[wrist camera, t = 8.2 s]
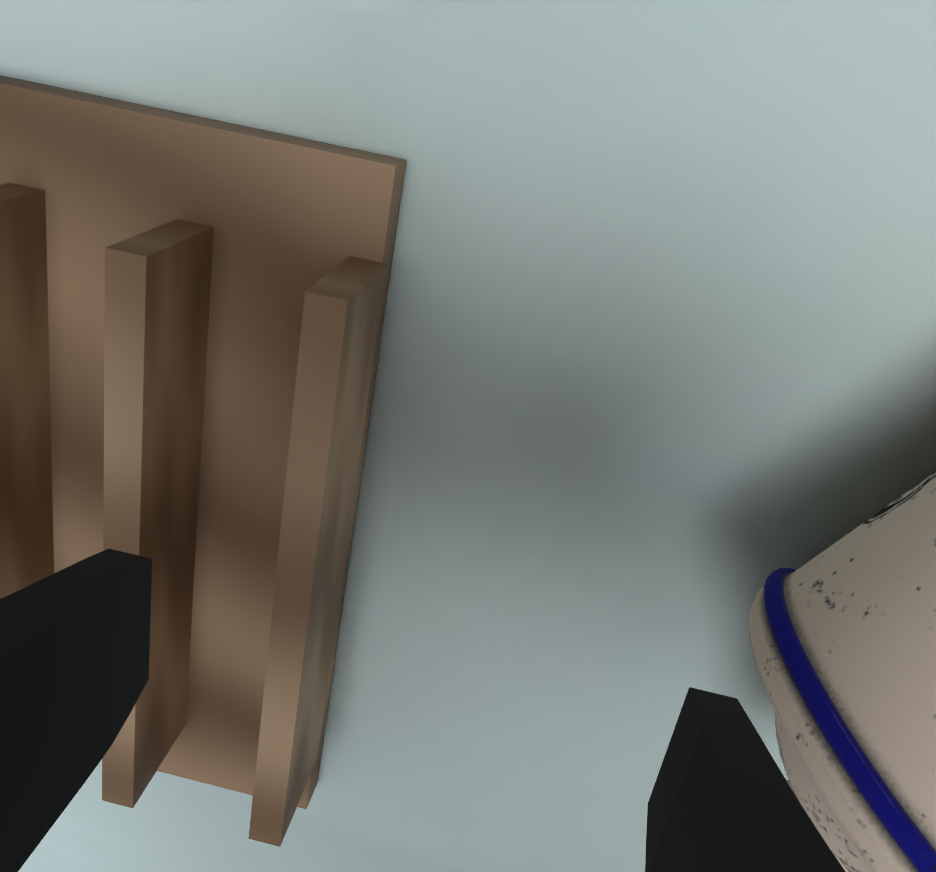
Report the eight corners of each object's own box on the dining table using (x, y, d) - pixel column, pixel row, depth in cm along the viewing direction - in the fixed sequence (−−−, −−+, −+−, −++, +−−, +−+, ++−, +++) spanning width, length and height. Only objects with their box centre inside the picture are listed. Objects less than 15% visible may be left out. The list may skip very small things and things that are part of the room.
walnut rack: (320, 783, 26) (272, 901, 23) (-67, 684, 27) (-172, 783, 23) (410, 160, 19) (361, 188, 15) (-128, 48, 20) (-298, 49, 16)
